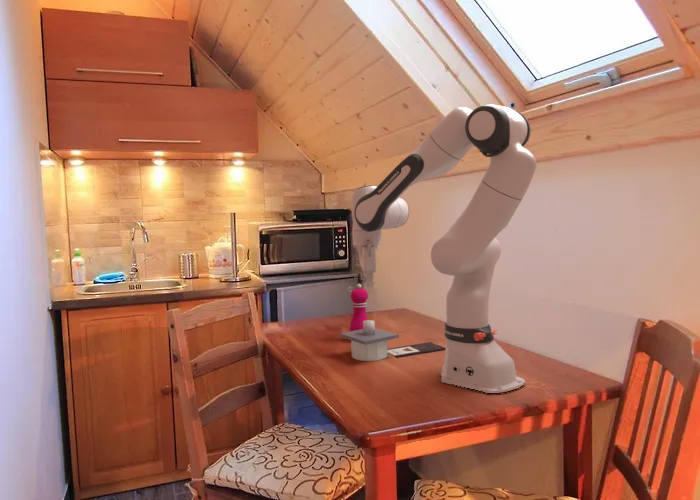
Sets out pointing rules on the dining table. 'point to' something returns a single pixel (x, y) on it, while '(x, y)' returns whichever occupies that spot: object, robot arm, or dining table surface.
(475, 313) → the robot arm
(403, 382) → the dining table surface
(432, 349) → the chocolate bar
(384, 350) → the bowl
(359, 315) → the pepper mill
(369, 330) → the lid
